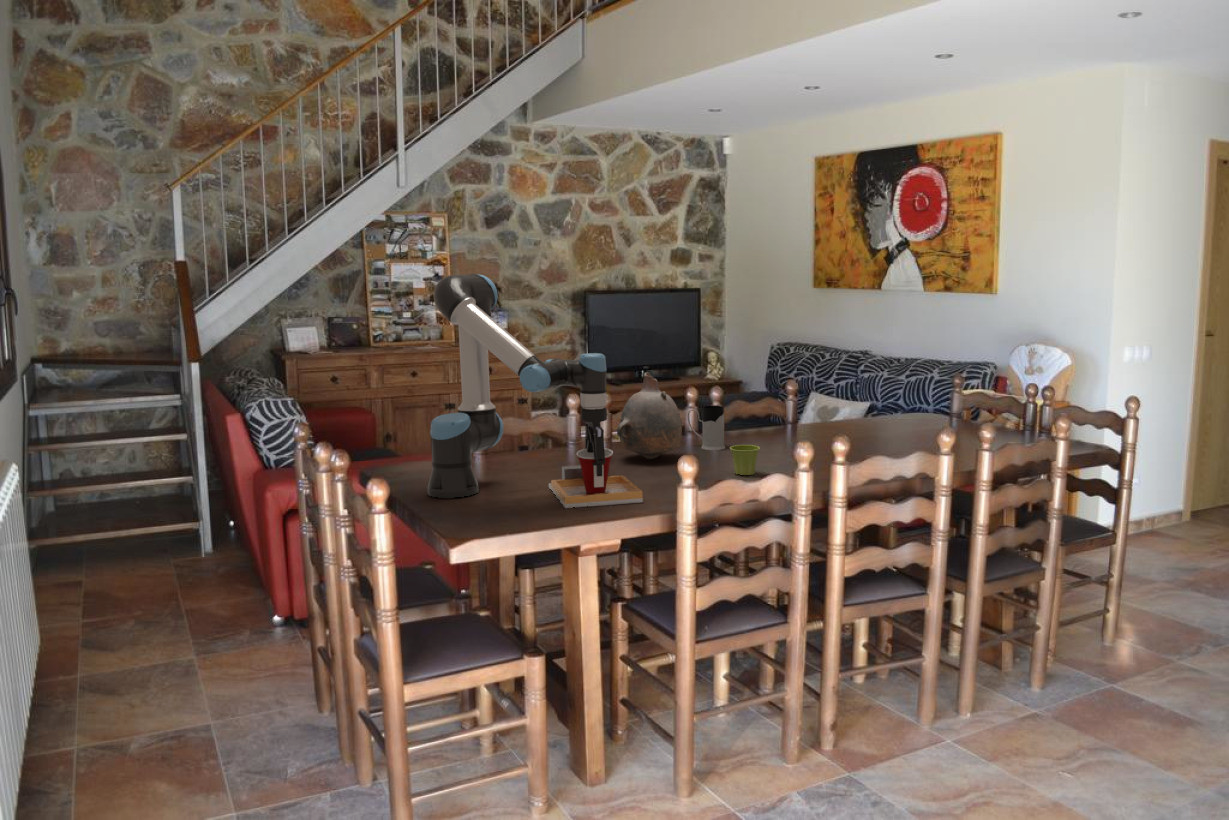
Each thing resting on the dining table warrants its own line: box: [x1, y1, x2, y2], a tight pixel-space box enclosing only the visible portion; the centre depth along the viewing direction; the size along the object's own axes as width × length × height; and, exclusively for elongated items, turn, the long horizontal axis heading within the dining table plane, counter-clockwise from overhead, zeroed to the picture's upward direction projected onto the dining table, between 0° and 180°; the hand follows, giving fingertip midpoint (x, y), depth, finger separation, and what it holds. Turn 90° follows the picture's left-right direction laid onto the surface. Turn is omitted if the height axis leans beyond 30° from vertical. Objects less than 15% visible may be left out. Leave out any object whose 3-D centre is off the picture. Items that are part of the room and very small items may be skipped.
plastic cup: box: [576, 447, 614, 493], centre depth 294 cm, size 11×11×12 cm
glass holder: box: [687, 405, 726, 451], centre depth 366 cm, size 9×14×15 cm, turn 65°
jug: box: [616, 372, 683, 460], centre depth 345 cm, size 24×21×30 cm
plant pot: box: [729, 444, 761, 476], centre depth 321 cm, size 9×9×9 cm
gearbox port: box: [548, 464, 644, 509], centre depth 297 cm, size 22×27×6 cm
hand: (595, 483), depth 294 cm, fingers closed on plastic cup, 9 cm apart
